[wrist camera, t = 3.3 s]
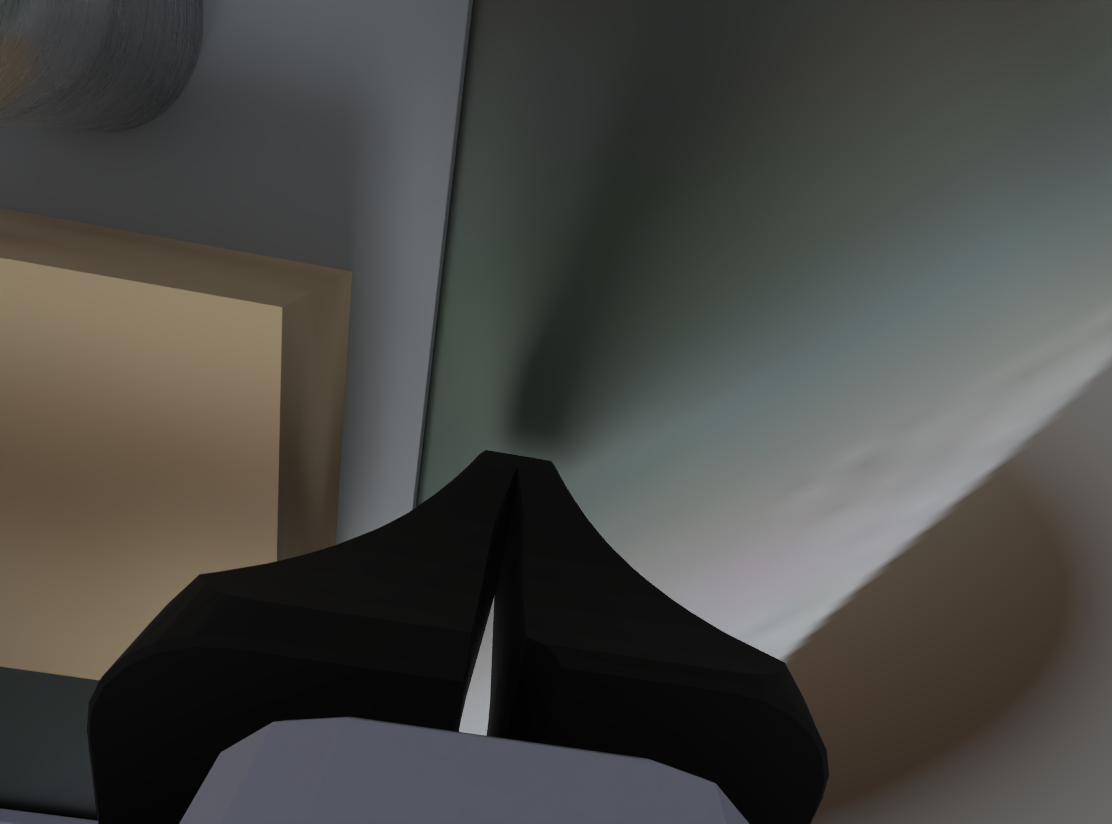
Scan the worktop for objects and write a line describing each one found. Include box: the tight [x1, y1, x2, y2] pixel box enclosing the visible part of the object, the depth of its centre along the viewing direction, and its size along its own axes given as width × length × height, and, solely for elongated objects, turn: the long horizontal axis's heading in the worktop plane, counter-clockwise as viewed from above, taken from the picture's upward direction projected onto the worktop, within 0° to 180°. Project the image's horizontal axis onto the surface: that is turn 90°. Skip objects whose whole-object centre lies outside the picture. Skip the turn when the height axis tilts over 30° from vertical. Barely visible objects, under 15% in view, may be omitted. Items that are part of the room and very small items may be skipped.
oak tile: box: [0, 208, 352, 680], centre depth 11 cm, size 7×7×3 cm
